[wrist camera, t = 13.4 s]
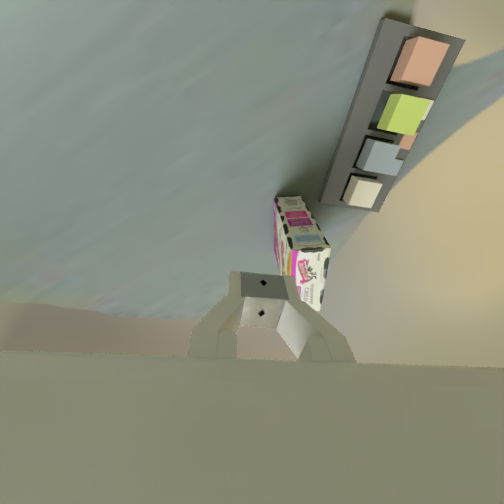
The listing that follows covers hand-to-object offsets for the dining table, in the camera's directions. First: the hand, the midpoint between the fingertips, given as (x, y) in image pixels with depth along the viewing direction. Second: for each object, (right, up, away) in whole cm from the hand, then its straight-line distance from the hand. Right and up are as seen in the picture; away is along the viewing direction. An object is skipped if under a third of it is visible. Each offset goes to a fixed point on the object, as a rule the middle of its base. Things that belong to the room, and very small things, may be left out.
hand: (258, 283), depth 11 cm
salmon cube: (+20, +26, +20) cm, 38 cm away
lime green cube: (+19, +21, +22) cm, 36 cm away
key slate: (+18, +17, +26) cm, 36 cm away
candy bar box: (+6, +7, +33) cm, 34 cm away
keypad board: (+19, +19, +25) cm, 37 cm away
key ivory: (+17, +12, +29) cm, 36 cm away
